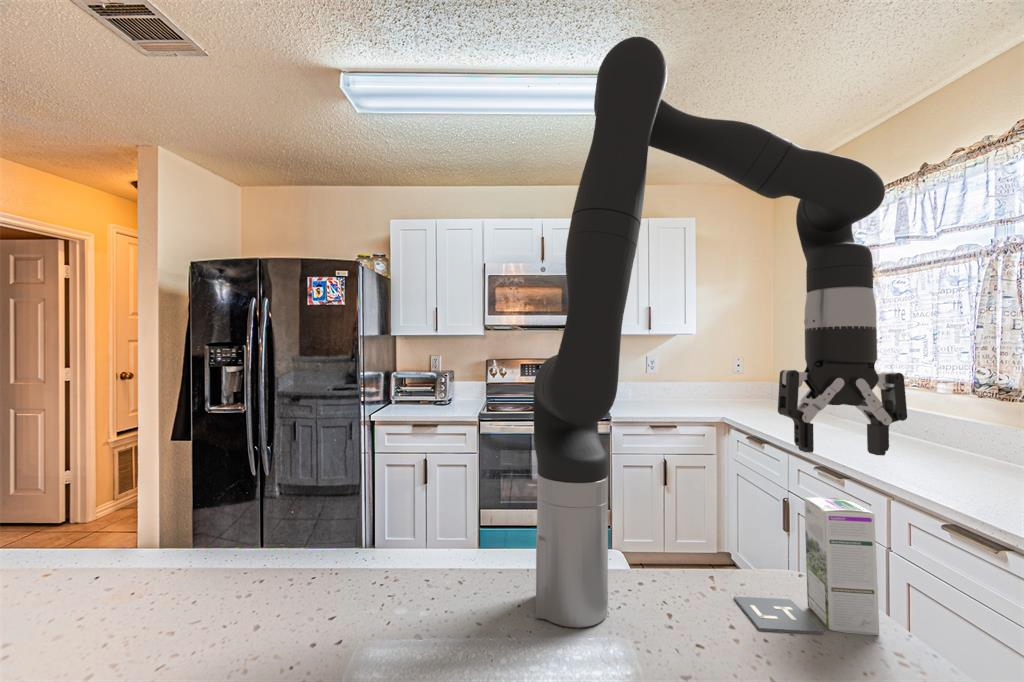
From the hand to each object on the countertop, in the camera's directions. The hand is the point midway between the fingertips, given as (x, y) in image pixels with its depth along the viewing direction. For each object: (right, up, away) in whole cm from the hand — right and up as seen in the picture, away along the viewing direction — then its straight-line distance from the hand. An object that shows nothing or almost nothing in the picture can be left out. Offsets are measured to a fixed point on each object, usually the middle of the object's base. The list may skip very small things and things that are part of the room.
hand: (841, 453), depth 57 cm
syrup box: (-1, -21, -1) cm, 21 cm away
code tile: (-8, -21, 0) cm, 22 cm away
